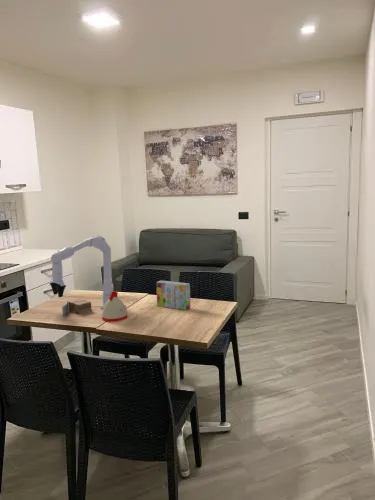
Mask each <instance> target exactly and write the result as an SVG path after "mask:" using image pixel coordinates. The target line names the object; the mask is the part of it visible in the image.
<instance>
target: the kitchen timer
mask: <svg viewBox="0 0 375 500" xmlns="http://www.w3.org/2000/svg"><path fill="white" fill-rule="evenodd" d="M118 295H119V293H118V292H117V290H113V292H112V293H111V295H110V297H111V298H110V297H109V299H108V300H107V302H106V303H105V305H104V307H103V306H101V307H102V308H101V310H102V313H101V320H102V321H103V322H104V321H105V322H107V323H108V322H109V323H110V322H113V323H114V322H120V321H124V320H126V319H127V318H128V310H127V305H126V304H124V302H123V301H122V299H120V298H119V297H118ZM117 297H118V298H117Z"/></svg>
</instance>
